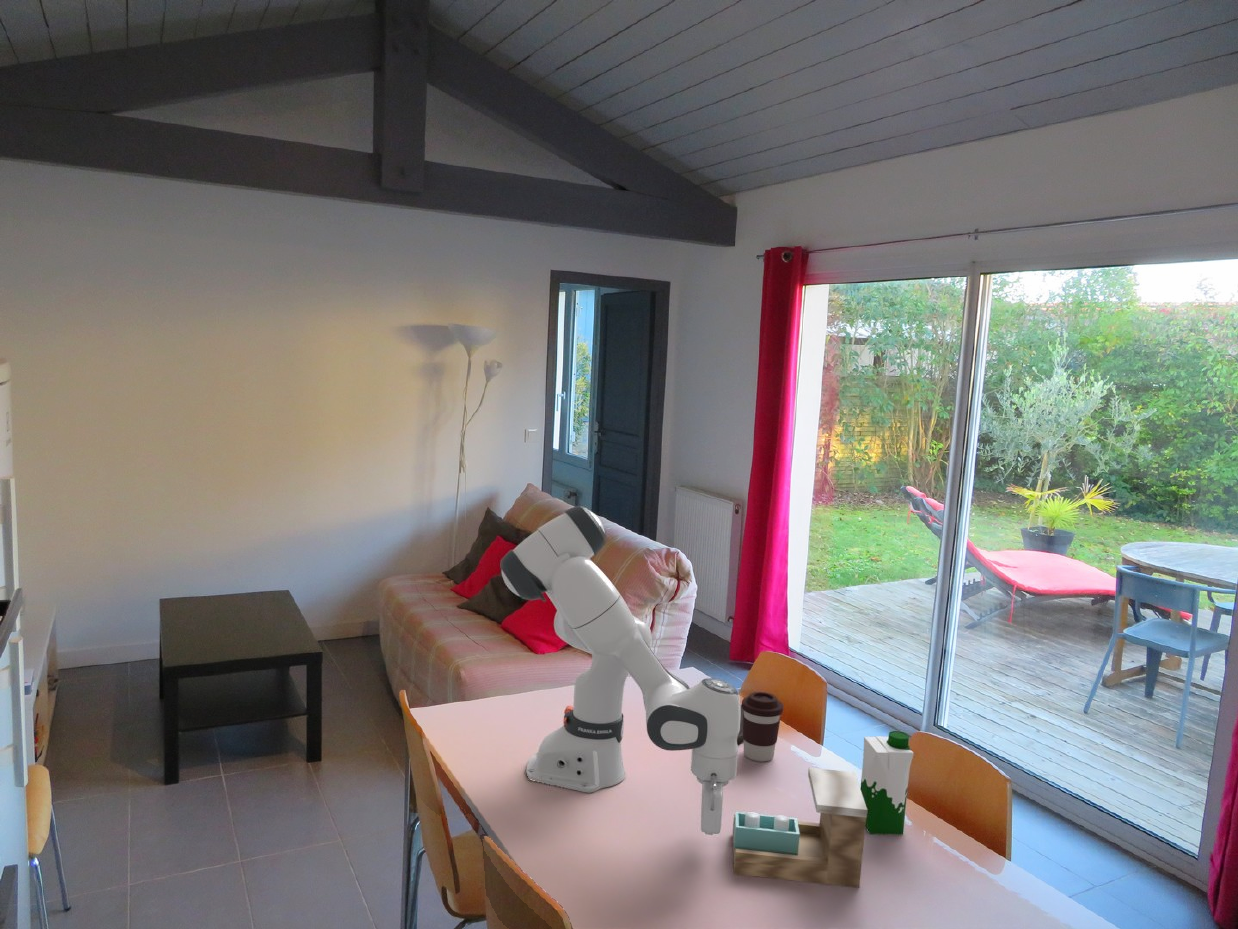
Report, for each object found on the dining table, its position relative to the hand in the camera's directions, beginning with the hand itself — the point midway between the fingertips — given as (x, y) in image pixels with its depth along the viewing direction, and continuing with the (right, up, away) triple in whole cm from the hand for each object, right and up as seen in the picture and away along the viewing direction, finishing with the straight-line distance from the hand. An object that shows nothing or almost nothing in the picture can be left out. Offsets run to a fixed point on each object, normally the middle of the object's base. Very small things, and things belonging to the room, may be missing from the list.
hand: (709, 831), depth 174 cm
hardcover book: (+11, +2, +61) cm, 62 cm away
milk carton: (+37, -5, +14) cm, 40 cm away
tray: (+11, -2, -1) cm, 11 cm away
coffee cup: (+16, 0, +44) cm, 47 cm away
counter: (+16, -5, -1) cm, 17 cm away
